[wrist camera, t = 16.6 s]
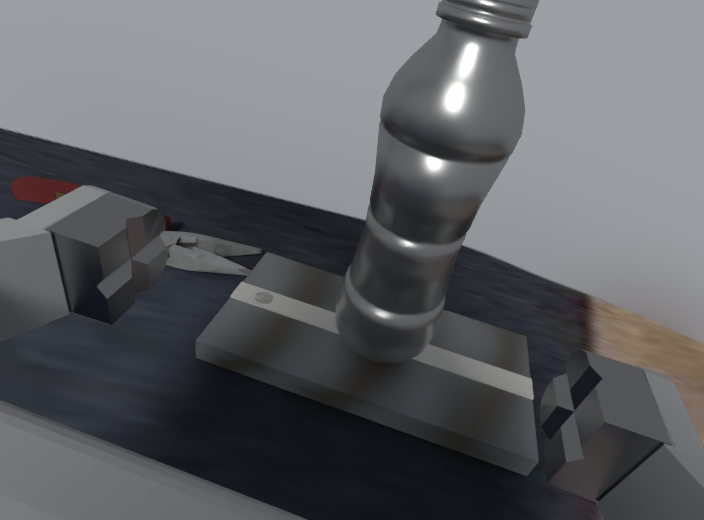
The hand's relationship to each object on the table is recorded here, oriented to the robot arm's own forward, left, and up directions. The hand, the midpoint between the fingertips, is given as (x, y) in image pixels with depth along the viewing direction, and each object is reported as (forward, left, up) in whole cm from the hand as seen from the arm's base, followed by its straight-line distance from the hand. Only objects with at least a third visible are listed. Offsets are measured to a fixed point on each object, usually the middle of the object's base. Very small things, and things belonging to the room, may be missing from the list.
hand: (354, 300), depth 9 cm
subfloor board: (+1, +14, -16) cm, 22 cm away
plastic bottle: (+1, +14, -15) cm, 20 cm away
